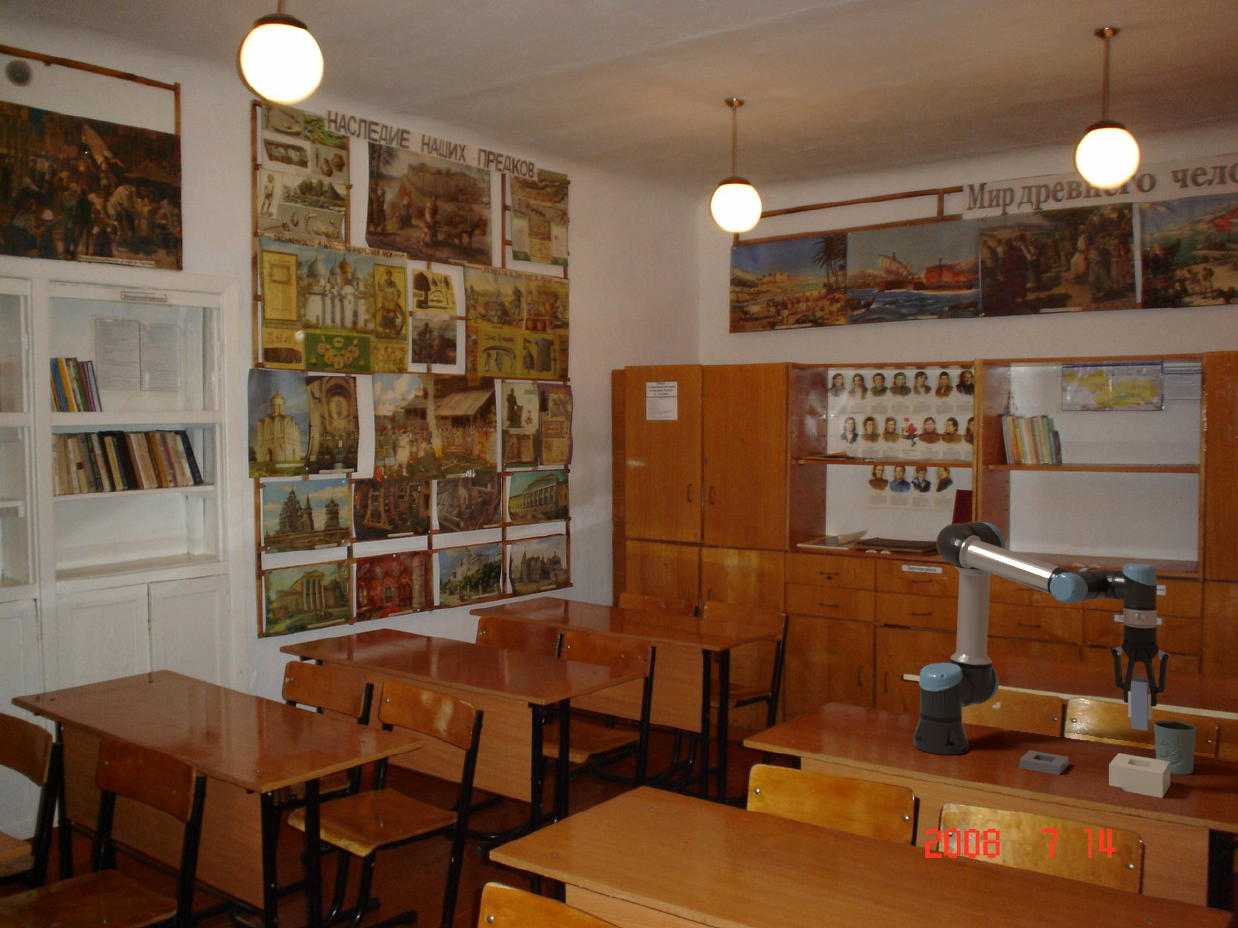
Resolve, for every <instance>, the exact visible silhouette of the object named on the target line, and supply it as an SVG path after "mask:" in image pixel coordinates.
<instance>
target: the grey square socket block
mask: <svg viewBox="0 0 1238 928" xmlns="http://www.w3.org/2000/svg"><path fill="white" fill-rule="evenodd" d="M1069 760H1070V759H1069V756H1065V755H1059V754H1053V753H1047V752H1043V751H1036V750H1035V751H1034V750H1028V751H1027V752H1026V753H1025V754H1024V755H1023V756H1022V757H1020V758H1019V769H1024V770H1028V771H1029V770H1031V771H1036V772H1041V773H1045V774H1046V773H1048V774H1052V775H1061V774H1062V773H1063V772H1064V771H1065V769H1067V768H1068V767H1069V765H1070V764H1069V763H1070V762H1069Z"/></svg>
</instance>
